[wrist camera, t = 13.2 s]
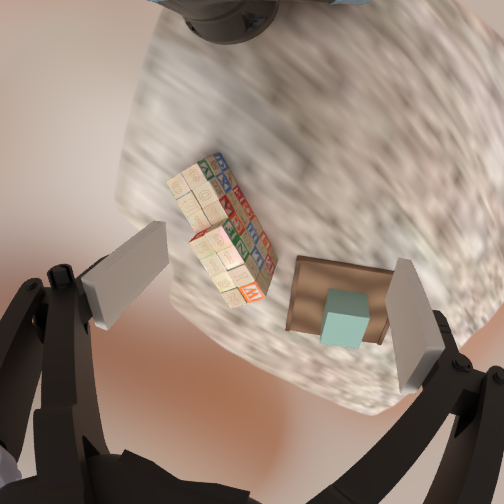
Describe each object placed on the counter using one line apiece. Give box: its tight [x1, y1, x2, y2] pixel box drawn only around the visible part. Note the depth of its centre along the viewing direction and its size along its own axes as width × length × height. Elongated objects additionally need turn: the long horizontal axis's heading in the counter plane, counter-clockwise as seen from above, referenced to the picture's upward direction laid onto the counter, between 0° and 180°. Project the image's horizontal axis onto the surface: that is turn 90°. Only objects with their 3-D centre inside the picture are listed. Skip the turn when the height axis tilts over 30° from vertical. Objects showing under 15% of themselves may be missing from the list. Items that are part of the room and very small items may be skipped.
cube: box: [320, 288, 370, 349], centre depth 49 cm, size 7×7×7 cm
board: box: [285, 256, 394, 345], centre depth 53 cm, size 16×20×2 cm
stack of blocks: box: [166, 153, 278, 308], centre depth 46 cm, size 21×6×12 cm, turn 29°
